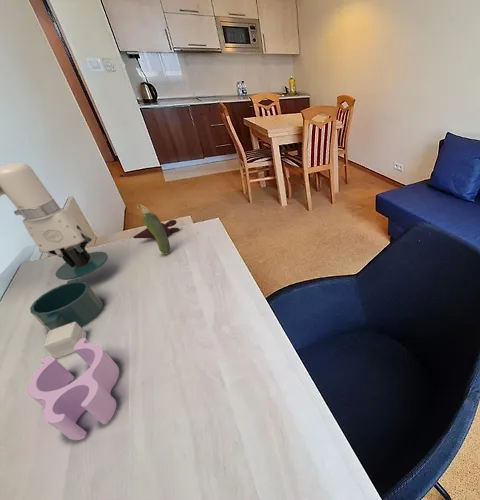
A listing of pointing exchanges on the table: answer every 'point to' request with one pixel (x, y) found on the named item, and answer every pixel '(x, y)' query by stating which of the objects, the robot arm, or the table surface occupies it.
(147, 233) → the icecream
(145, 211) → the vegetable
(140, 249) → the table surface
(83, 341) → the clip
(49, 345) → the small box
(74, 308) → the pot
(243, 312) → the table surface
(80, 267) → the pot lid
